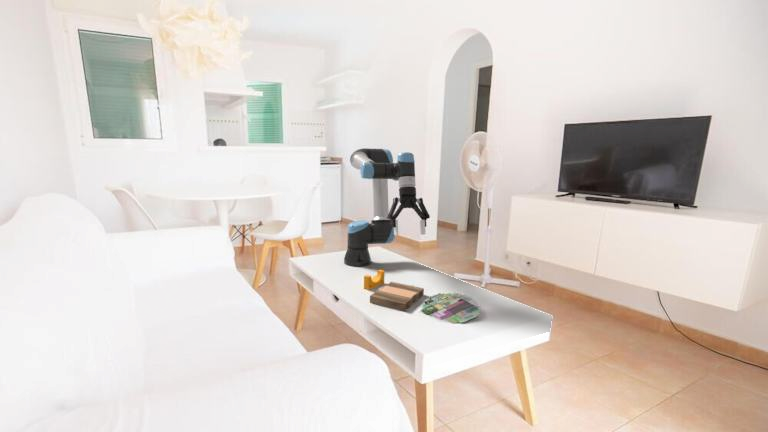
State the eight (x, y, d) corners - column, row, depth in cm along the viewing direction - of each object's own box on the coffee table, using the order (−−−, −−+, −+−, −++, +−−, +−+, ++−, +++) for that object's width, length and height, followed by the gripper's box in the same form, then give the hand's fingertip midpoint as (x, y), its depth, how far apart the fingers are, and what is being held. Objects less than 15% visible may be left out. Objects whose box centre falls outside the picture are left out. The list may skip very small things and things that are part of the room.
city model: (407, 316, 148) (406, 302, 147) (436, 293, 166) (436, 280, 165) (464, 337, 134) (465, 322, 132) (490, 309, 152) (490, 296, 150)
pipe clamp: (376, 281, 181) (377, 268, 180) (384, 283, 178) (384, 270, 177) (360, 288, 171) (361, 274, 170) (368, 290, 169) (368, 277, 168)
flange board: (391, 287, 172) (391, 281, 172) (423, 294, 165) (423, 288, 165) (369, 302, 155) (370, 295, 154) (404, 311, 148) (405, 303, 147)
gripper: (385, 184, 158) (388, 234, 156) (435, 186, 168) (438, 233, 166) (378, 187, 164) (380, 235, 162) (426, 189, 175) (429, 234, 173)
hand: (409, 234), depth 164 cm, fingers open, 13 cm apart
